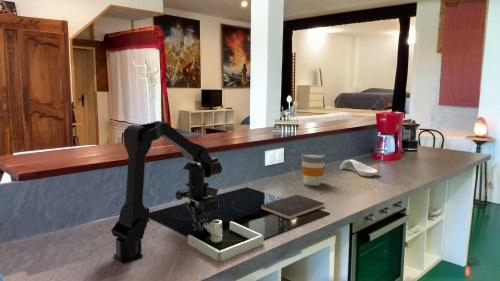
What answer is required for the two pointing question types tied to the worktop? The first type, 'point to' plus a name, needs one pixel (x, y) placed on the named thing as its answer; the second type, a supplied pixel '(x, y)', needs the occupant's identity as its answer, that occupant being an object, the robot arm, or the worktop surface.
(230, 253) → the u-shaped bracket
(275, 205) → the hardcover book
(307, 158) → the reusable coffee cup
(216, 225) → the valve
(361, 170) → the spoon rest
